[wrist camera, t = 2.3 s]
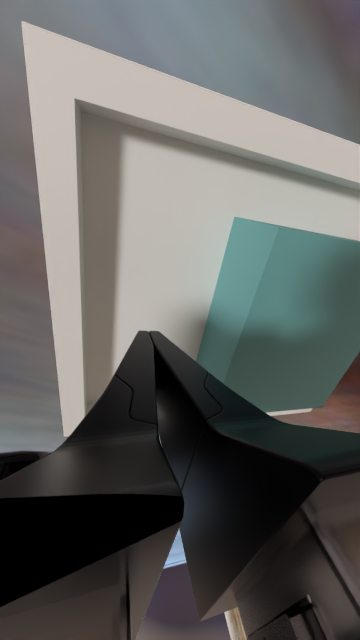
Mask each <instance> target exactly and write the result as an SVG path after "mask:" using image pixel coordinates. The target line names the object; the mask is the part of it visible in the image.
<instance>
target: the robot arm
mask: <svg viewBox="0 0 360 640" xmlns="http://www.w3.org/2000/svg"><path fill="white" fill-rule="evenodd" d="M158 430H159V433H158ZM159 435H160V439H161V444H162V446H161V444H160V440H159ZM178 529H180V533H181V538H182V543H183V547H184V552H185V557H186V561H187V566H188V571H189V575H190V580H191V585H192V589H193V594H194V598H195V603H196V608H197V612H198V617H199V620H200V621H202V620H205V619H208V618H210V617H213V616H215V615H218V614H221V613H224V612H226V611H229V610H231V609H234V608H238V611H239V615H240V618H241V622H242V625H243V629H244V632H245V636H246V639H247V640H360V433H352V432H344V431H337V430H329V429H322V428H314V427H306V426H299V425H292V424H288V423H284V422H281V421H279V420H277V419H275V418H273V417H271V416H270V415H268V414H266V413H265V412H264V411H262V410H261V409H259V408H258V407H256V406H255V405H253V404H252V403H250V402H249V401H247V400H246V399H244V398H243V397H242V396H240V395H239V394H237V393H236V392H234V391H233V390H232V389H230V388H229V387H227V386H226V385H225V384H223V383H222V382H221V381H220V380H218V379H217V378H216V377H214V376H213V375H212V374H211V373H209V372H208V371H207V370H206V369H205V368H203V367H202V366H201V365H200V364H198V363H197V362H196V361H195V360H194V359H192V358H191V357H190V356H189V355H187V354H186V353H185V352H184V351H183V350H181V349H180V348H179V347H178V346H176V345H175V344H174V343H173V342H171V341H170V340H169V339H168V338H167V337H165V336H164V335H163V334H162V333H160V332H159V331H149V332H148V331H142V330H139V331H138V332H137V334H136V336H135V338H134V339H133V341H132V343H131V345H130V347H129V348H128V350H127V352H126V354H125V356H124V357H123V359H122V361H121V363H120V365H119V366H118V368H117V370H116V372H115V374H114V376H113V377H112V379H111V381H110V382H109V384H108V386H107V387H106V389H105V390H104V392H103V394H102V395H101V396H100V398H99V399H98V400H97V402H96V403H95V404H94V406H93V407H92V408H91V410H90V411H89V412H88V413H87V415H86V416H85V417H84V418H83V420H82V421H81V422H80V423H79V425H78V426H77V427H76V429H75V430H74V431H73V432H72V434H71V435H70V436H69V437H68V438H67V440H66V441H65V442H64V443H63V444H62V445H61V446H60V447H59V448H58V449H56V450H55V451H54V452H52V453H51V454H49V455H47V456H45V457H44V458H42V459H40V458H39V456H37V455H34V454H33V455H23V456H14V457H6V458H0V640H135V638H136V636H137V633H138V631H139V628H140V626H141V623H142V621H143V618H144V616H145V613H146V610H147V608H148V605H149V603H150V600H151V598H152V595H153V593H154V590H155V588H156V585H157V582H158V580H159V577H160V575H161V572H162V570H163V567H164V565H165V562H166V560H167V557H168V554H169V552H170V549H171V547H172V544H173V542H174V539H175V537H176V534H177V532H178Z"/></svg>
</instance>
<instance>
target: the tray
mask: <svg viewBox="0 0 360 640" xmlns="http://www.w3.org/2000/svg"><path fill="white" fill-rule="evenodd" d="M21 22H22V32H23V42H24V52H25V61H26V71H27V81H28V91H29V100H30V110H31V120H32V130H33V139H34V149H35V159H36V169H37V178H38V188H39V198H40V208H41V217H42V227H43V237H44V247H45V256H46V266H47V276H48V286H49V295H50V305H51V315H52V325H53V334H54V344H55V354H56V364H57V373H58V383H59V393H60V403H61V412H62V422H63V432H64V437H65V436H70V435H71V434H72V432H73V431H74V430H75V429H76V427H77V426H78V425H79V423H80V422H81V421H82V420H83V418H84V417H85V416H86V415H87V413H88V412H89V411H90V410H91V408H92V407H93V406H94V404H95V403H96V402H97V400H98V399H99V398H100V396H101V395H102V394H103V392H104V390H105V389H106V387H107V386H108V384H109V382H110V381H111V379H112V377H113V376H114V374H115V372H116V370H117V368H118V366H119V365H120V363H121V361H122V359H123V357H124V356H125V354H126V352H127V350H128V348H129V347H130V345H131V343H132V341H133V339H134V338H135V336H136V334H137V332H138V331H139V330H142V331H148V332H149V331H159V332H160V333H162V334H163V335H164V336H165V337H167V338H168V339H169V340H170V341H171V342H173V343H174V344H175V345H176V346H178V347H179V348H180V349H181V350H183V351H184V352H185V353H186V354H187V355H189V356H190V357H191V358H192V359H194V360H195V361H196V359H197V355H198V351H199V348H200V344H201V340H202V336H203V333H204V329H205V325H206V321H207V318H208V314H209V310H210V306H211V302H212V299H213V295H214V291H215V287H216V284H217V280H218V276H219V272H220V269H221V265H222V261H223V257H224V254H225V250H226V246H227V242H228V238H229V235H230V231H231V227H232V223H233V220H234V217H239V218H245V219H250V220H255V221H260V222H265V223H270V224H275V225H280V226H286V227H291V228H296V229H301V230H306V231H311V232H316V233H321V234H327V235H332V236H337V237H342V238H347V239H352V240H357V241H360V145H359V144H356V143H353V142H350V141H348V140H345V139H342V138H340V137H337V136H334V135H331V134H329V133H326V132H323V131H320V130H318V129H315V128H312V127H310V126H307V125H304V124H301V123H299V122H296V121H293V120H290V119H288V118H285V117H282V116H280V115H277V114H274V113H271V112H269V111H266V110H263V109H260V108H258V107H255V106H252V105H250V104H247V103H244V102H241V101H239V100H236V99H233V98H230V97H228V96H225V95H222V94H220V93H217V92H214V91H211V90H209V89H206V88H203V87H200V86H198V85H195V84H192V83H190V82H187V81H184V80H181V79H179V78H176V77H173V76H170V75H168V74H165V73H162V72H160V71H157V70H154V69H151V68H149V67H146V66H143V65H140V64H138V63H135V62H132V61H130V60H127V59H124V58H121V57H119V56H116V55H113V54H110V53H108V52H105V51H102V50H100V49H97V48H94V47H91V46H89V45H86V44H83V43H80V42H78V41H75V40H72V39H70V38H67V37H64V36H61V35H59V34H56V33H53V32H50V31H48V30H45V29H42V28H40V27H37V26H34V25H31V24H29V23H26V22H23V21H21ZM311 410H312V408H308V409H298V410H287V411H277V412H267V413H266V414H268V415H270V416H273V415H283V414H293V413H303V412H310V411H311Z"/></svg>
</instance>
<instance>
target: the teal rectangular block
mask: <svg viewBox="0 0 360 640" xmlns="http://www.w3.org/2000/svg"><path fill="white" fill-rule="evenodd" d="M359 352H360V241H357V240H352V239H347V238H342V237H337V236H332V235H327V234H321V233H316V232H311V231H306V230H301V229H296V228H291V227H286V226H280V225H275V224H270V223H265V222H260V221H255V220H250V219H245V218H239V217H234V220H233V223H232V227H231V231H230V235H229V238H228V242H227V246H226V250H225V254H224V257H223V261H222V265H221V269H220V272H219V276H218V280H217V284H216V287H215V291H214V295H213V299H212V302H211V306H210V310H209V314H208V318H207V321H206V325H205V329H204V333H203V336H202V340H201V344H200V348H199V351H198V355H197V359H196V362H197V363H198V364H200V365H201V366H202V367H203V368H205V369H206V370H207V371H208V372H209V373H211V374H212V375H213V376H214V377H216V378H217V379H218V380H220V381H221V382H222V383H223V384H225V385H226V386H227V387H229V388H230V389H232V390H233V391H234V392H236V393H237V394H239V395H240V396H242V397H243V398H244V399H246V400H247V401H249V402H250V403H252V404H253V405H255V406H256V407H258V408H259V409H261V410H262V411H264V412H265V413H267V412H277V411H287V410H298V409H308V408H319V407H322V406H323V405H324V403H325V402H326V401H327V399H328V398H329V396H330V395H331V393H332V392H333V390H334V389H335V387H336V386H337V384H338V383H339V381H340V380H341V378H342V377H343V376H344V374H345V373H346V371H347V370H348V368H349V367H350V365H351V364H352V362H353V361H354V359H355V358H356V356H357V355H358V353H359Z"/></svg>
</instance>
